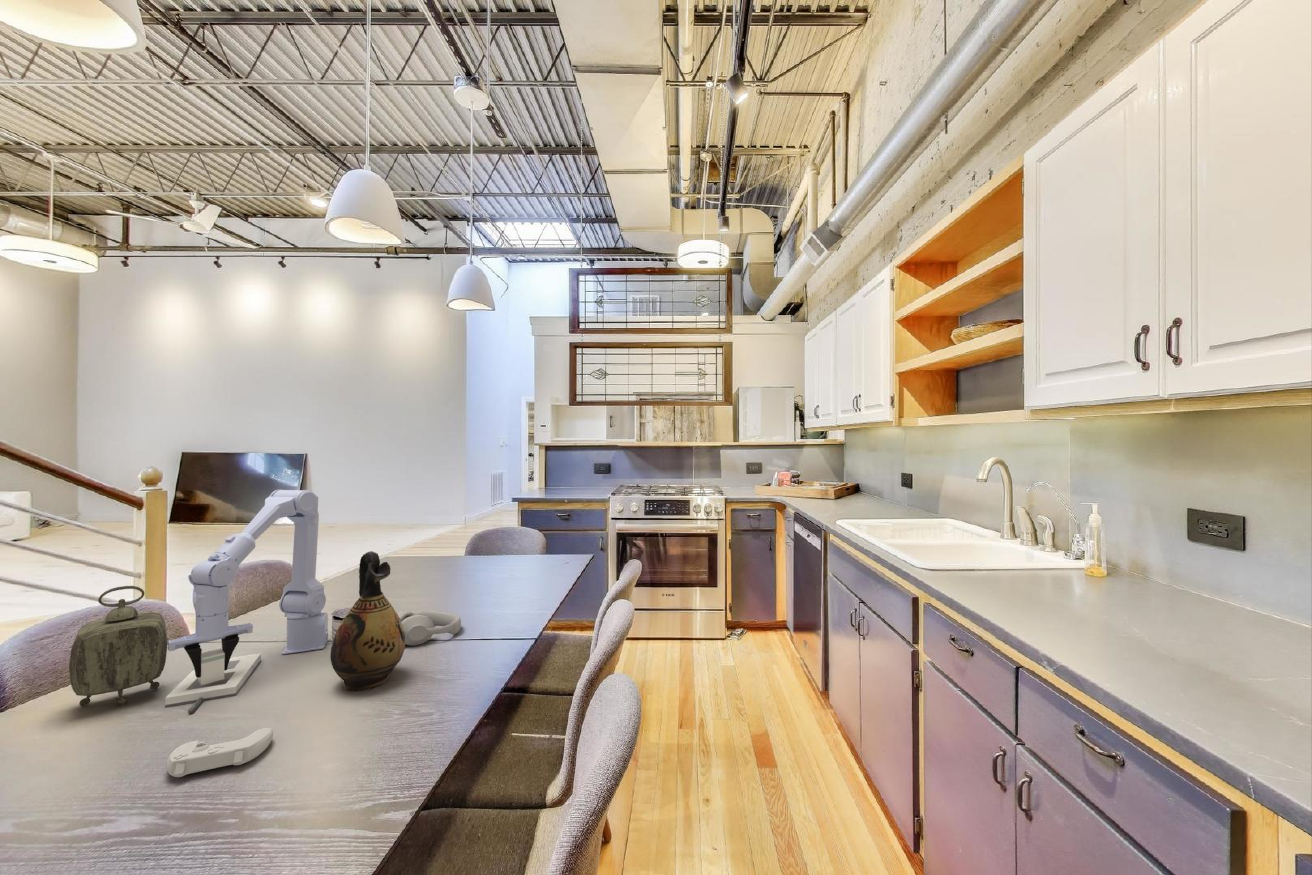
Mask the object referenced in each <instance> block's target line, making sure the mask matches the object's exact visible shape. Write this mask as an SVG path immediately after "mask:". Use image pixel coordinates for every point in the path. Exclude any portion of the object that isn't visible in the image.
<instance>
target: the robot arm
mask: <svg viewBox="0 0 1312 875" xmlns="http://www.w3.org/2000/svg"><path fill="white" fill-rule="evenodd" d="M318 506H319V496H317V495H316V494H315V493H314V492H313V491H312V490H310V489H302V490H301V489H295V490H293V489H275V490H274V491H272V492H271V493H270V494H269V496H268V497H266V498H265V500H264V506H263V507H262V508H261V509H260V510H259V511H258V512H257V513H256V515H255V516H254V517H253V518H252V520H250V522H249V523H248V524H247V525H246V526H245V528H244V529H243V530H242V531H241V532H239V533H233V534H231V535H229V536H227V537H226V538H225V539H224V542H223V543H222V544H221V545H220V546H219V547H218V548H217V549H216V550H215V551H214V552H213V553H211V554H210V555H209V556H208V558H207V559H205V560H204V559H203V561H199V562H198V563H196V565H194V567H193V568H192V570H191V572H190V574H189V575H188V576H187V577H188V581H189V583H190V584H192V586H193V592H194V593H195V633H192V634H188V635H184V636H181V637H178V638H173V639H170V640H167V651H168V652H174V651H177V650H178V649H184V650H185V652H186V654H187V655H188V658H189V659H190V661H191V663H192V666H193V670H195V676H196V677H197V678H199V677H201V653H203V652H202V651H203V650H202V648H201V645H200V644H204V643H209V642H214V641H217V640H221V649H222V650H223V651H224V653H225V660H224V671H225V670H227V668H228V664H229V660H230V658H232V655H233V653H234V651H235V649H236V647H237V646H238V644H239V641H240V636H239V635H245V634H247V635H248V634H249V635H250V634H252V633H254V632H253V630H254V629H253V628H254V626H253V623H252V622H248V623H242V624H236V625H230V626H229V608H230V607H229V606H230V604H229V600H230V599H229V598H230V597H229V596H230V594H229V593H230V592H229V591H230V583H231V582H233V581H234V580H235V578H236V576H237V573H238V572H237V571H238V570H239V567H240V565H241V564H242V563H243V561H244V560H245V559H246V558H247V557H248V556H249V555H250V554H251V553H252V552H253V551H254V550H255V549H256V540H257V539H259V537H261V535H262V534H264V533H265V531H267V530H268V529H270V527H271V526H272V525H273V524H274V523H275V522H277V521H278V520H279V519H282V518H287V519H289V520H290V521H291V522H293V524H294V533H293V547H292V548H293V552H292V553H293V554H292V566H291V568H292V569H291V579H290V580H291V581H290V582H288V583H287V584H286V585H284V587H283V589H282V590H283V591H282V595H281V598H279V599H280V600H279V604H278V606H279V609H280V611H281V612H282V613H284V617H286V646H285V647H284V649H283V651H282V652H281V654H282V655H288V654H295V653H297V654H298V653H303V652H310V651H316V650H322V649H324V648H325V647H326V645H327V642H328V640H329V614H328V612H322V611H323V609H324V608H325V605H326V602H327V597H326V596H327V595H326V594H325V585H323V583H321V582H320V581H319V580H318V579H317V578H316V573H317V571H316V570H317V554H318V540H319V538H318V537H319V521H320V518H319V517H320V516H319V515H320V514H319V510H318V509H319V507H318Z"/></svg>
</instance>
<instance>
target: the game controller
mask: <svg viewBox="0 0 1312 875" xmlns="http://www.w3.org/2000/svg"><path fill="white" fill-rule="evenodd" d="M273 737H274V730H273V728H272V727H263V728H259V729H256V730H255V731H252V733H250V734H249V735H248V736H245V737H243V738H241V739H236V740H231V741H224V742H219V743H214V744H210V745H209V744H207V743H206V740H205V741H204V740H203V741H199V740H198V739H197V740H193V741H189V742H185V743H182V744H181V745H180V746H177V747H176V748H175V749H174V750H173V751H172V752H171V753H170V754H169V756H168V758H167V761H166V772H167V773H168V774H169V775H170V776H172V777H174V778H181V777H184V776H186V775H189V774H195V773H199V772H204V771H208V770H213V769H219V768H222V767H227V766H232V765H233V766H240V765H243V764H245V763H249V762H251V761H253V760H254V759H256V758H257V757H259V755H261V754H262V753H264V751H266V749H267V748H268V747H269V745H270V744H271V743H272V740H273Z"/></svg>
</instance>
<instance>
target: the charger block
mask: <svg viewBox="0 0 1312 875" xmlns="http://www.w3.org/2000/svg"><path fill="white" fill-rule="evenodd" d="M224 660H225V653H224V651H223V650H222V647H221V648H216V649H213V650H209V651H203V652H201V677H199V678H198V681H199V683H200V684H201V685H204V684H208V683H212V682H215V681H219V680H222V679H224Z"/></svg>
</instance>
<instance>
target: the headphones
mask: <svg viewBox="0 0 1312 875" xmlns="http://www.w3.org/2000/svg"><path fill="white" fill-rule="evenodd" d="M396 613H397V614H398V616H399V618H400V620H401V623H402V626H403V629H404V632H405V633H404V636H405V645H407V646H418V645H422V644H424V643H426V642H427V641H429V640H430V639H431V638H432V636H433V635H440V634H450V635H453V636H454V635H457V634H458V633H459V632H460V630H461V626H462V621H461V620H462V618H461V617H460V616H459V615H457V614H454V613H451V612H444V611H439V610H438V611H436V610H424V611H418V612H416V613H413V612H412V611H408V610H400V611H397V612H396ZM435 626H438V627H435Z"/></svg>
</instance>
